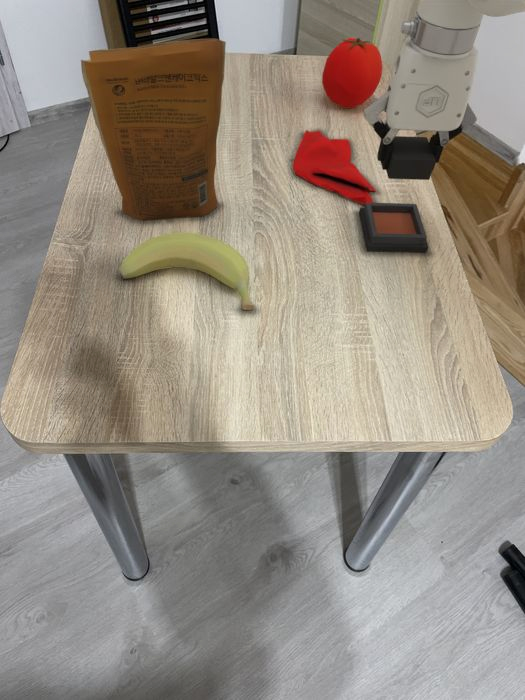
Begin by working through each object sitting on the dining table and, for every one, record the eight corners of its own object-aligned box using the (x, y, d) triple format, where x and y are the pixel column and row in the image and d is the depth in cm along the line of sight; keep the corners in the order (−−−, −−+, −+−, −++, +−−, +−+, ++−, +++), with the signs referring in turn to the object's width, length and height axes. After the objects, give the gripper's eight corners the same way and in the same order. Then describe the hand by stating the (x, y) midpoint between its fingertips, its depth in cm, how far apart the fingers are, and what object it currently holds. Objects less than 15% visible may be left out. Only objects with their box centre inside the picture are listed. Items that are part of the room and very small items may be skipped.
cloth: (279, 133, 109) (280, 123, 107) (344, 130, 111) (346, 119, 109) (309, 214, 93) (311, 204, 91) (384, 208, 95) (387, 198, 94)
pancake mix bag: (229, 221, 91) (229, 46, 69) (114, 229, 89) (75, 51, 67) (224, 197, 95) (222, 24, 73) (114, 204, 93) (78, 27, 71)
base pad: (415, 214, 95) (419, 201, 93) (426, 252, 89) (431, 240, 86) (358, 212, 94) (361, 200, 92) (366, 251, 88) (369, 238, 86)
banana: (173, 201, 82) (275, 272, 77) (179, 222, 87) (275, 290, 82) (110, 261, 78) (213, 340, 73) (120, 280, 84) (217, 355, 78)
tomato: (315, 91, 121) (323, 26, 110) (368, 90, 122) (381, 27, 111) (323, 118, 114) (333, 52, 103) (380, 117, 115) (395, 52, 104)
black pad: (420, 156, 82) (427, 137, 79) (429, 180, 78) (435, 160, 75) (381, 155, 81) (386, 135, 79) (388, 178, 78) (393, 159, 75)
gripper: (378, 44, 62) (350, 178, 77) (523, 50, 63) (469, 182, 77) (369, 17, 67) (344, 149, 81) (504, 23, 68) (457, 152, 82)
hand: (406, 164), depth 79 cm, fingers closed on black pad, 6 cm apart
